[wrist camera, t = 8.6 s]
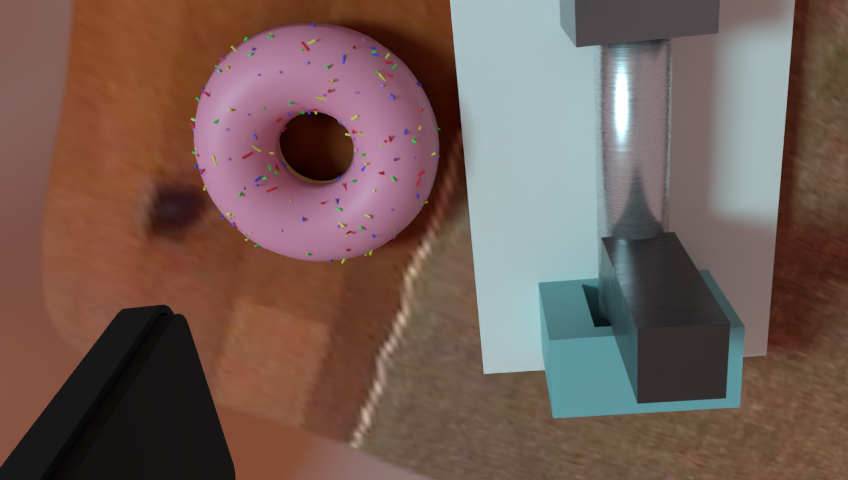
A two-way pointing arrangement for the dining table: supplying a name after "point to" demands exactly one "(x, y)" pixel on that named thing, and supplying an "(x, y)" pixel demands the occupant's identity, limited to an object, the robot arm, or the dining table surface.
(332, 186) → the doughnut
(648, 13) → the sleeve
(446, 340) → the dining table surface
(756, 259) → the base board
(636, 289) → the silver bolt with handle
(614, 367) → the socket
